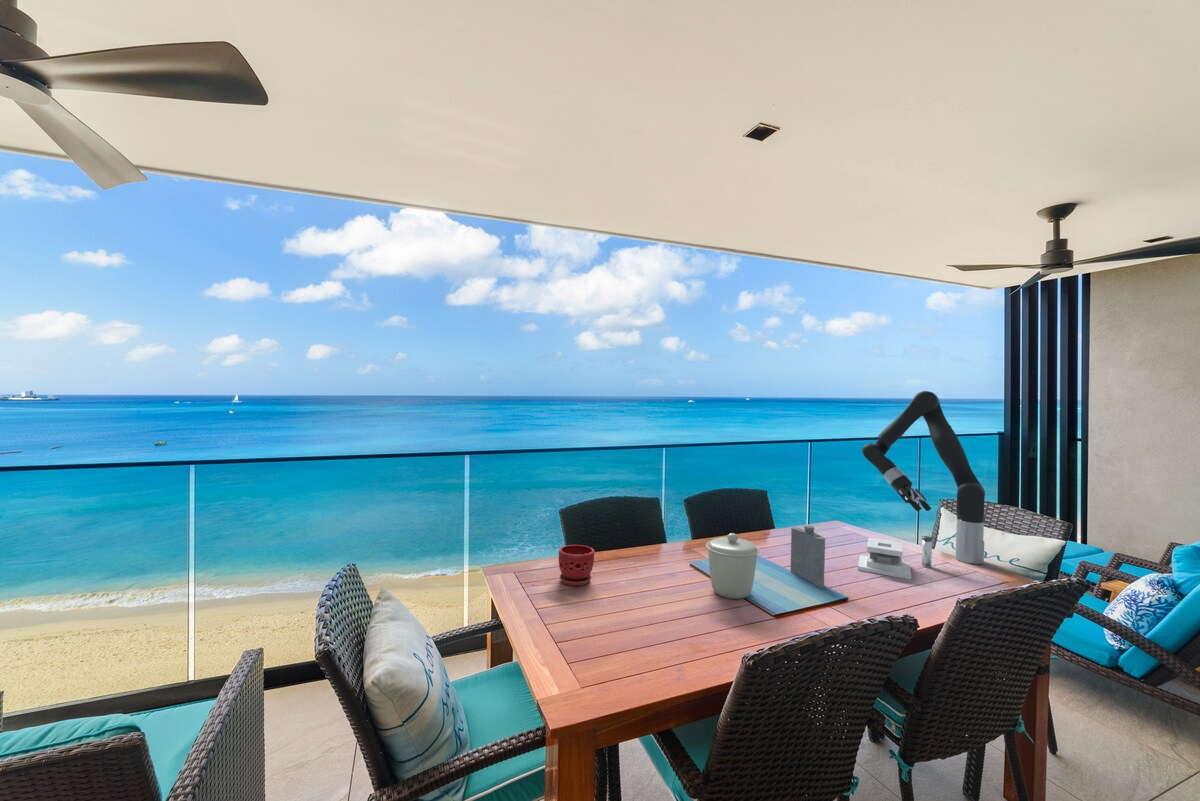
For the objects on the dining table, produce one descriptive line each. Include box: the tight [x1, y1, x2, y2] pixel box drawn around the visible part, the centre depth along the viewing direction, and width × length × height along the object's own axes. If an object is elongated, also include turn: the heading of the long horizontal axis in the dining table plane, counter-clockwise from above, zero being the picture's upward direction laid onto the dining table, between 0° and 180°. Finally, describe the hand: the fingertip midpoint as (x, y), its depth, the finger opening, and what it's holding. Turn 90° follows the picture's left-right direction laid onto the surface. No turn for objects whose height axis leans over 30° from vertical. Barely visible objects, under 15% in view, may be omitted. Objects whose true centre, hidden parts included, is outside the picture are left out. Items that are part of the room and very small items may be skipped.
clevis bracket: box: [857, 537, 912, 580], centre depth 198 cm, size 18×17×10 cm
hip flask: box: [789, 524, 826, 588], centre depth 187 cm, size 16×4×20 cm, turn 20°
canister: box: [705, 532, 760, 600], centre depth 172 cm, size 18×18×21 cm
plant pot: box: [558, 544, 595, 587], centre depth 182 cm, size 13×13×12 cm
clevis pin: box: [921, 535, 934, 569], centre depth 201 cm, size 4×4×12 cm
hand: (924, 510), depth 210 cm, fingers open, 8 cm apart
